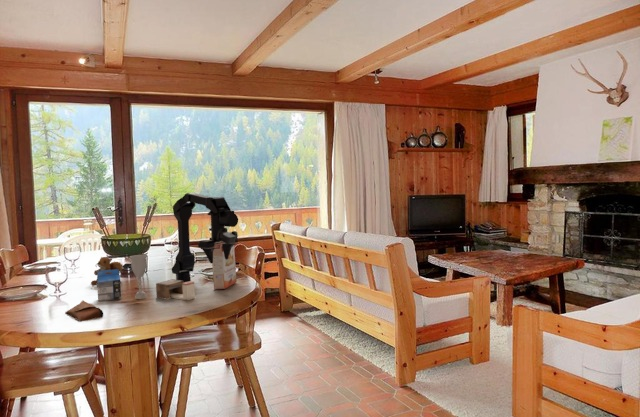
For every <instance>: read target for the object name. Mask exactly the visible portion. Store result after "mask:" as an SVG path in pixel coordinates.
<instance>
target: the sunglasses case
mask: <svg viewBox="0 0 640 417" xmlns="http://www.w3.org/2000/svg"><path fill="white" fill-rule="evenodd" d="M64 314H67V315H69V316H71V317H73V318H74V319H75V320H77V321H78V322H84V321H85V322H86V321H89V320H90V321H91V320H94V319H98V318H103V317H104V311H103V310H102V309H101V308H99V307H97V306H96V305H93V304H91V303H89V302H87V301H85V300H81V301H80V303H79V304H76V305H75V306H73V307H72V308H70V309H68V310H67V311H65V312H64Z"/></svg>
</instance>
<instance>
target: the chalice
mask: <svg viewBox="0 0 640 417" xmlns="http://www.w3.org/2000/svg"><path fill="white" fill-rule="evenodd" d="M129 258H130V268H131V270H132V273H133V275H134V276H135V277H136V278H137V279H138V281H137V283H138V286H137V287H138V291H137V292H136V294H135V296H134V300H142V299H146V298H148V296H147V293H146V292H145V291H143V290H142V289H143V288H142V287H143V285H142V283H143V282H142V278H143V277H144V275H145V273H146V270H147V267H148V266H147V258H148V254H136V255H135V254H134V255H130V256H129Z"/></svg>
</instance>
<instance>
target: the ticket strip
mask: <svg viewBox="0 0 640 417" xmlns="http://www.w3.org/2000/svg"><path fill="white" fill-rule="evenodd" d="M182 285H183V294H178V293H172V292H171V293H169V295H170V298H172V299H175V300H176V299H177V300H183V301H190V300H193V299H196V295H195V293H196V291H195V281H192V280H191V281H189V282H185V283H182Z"/></svg>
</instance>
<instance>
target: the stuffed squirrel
mask: <svg viewBox="0 0 640 417" xmlns="http://www.w3.org/2000/svg"><path fill="white" fill-rule="evenodd" d="M112 261H113V258H109V257H107V256H106V257H105V256H101V257H100V259H99V260H98V262H97V263H96V264H95V267H96V268H98V267H99V268H98V269H95V270H94V272H93V275H94V276H97V271H104V270H114V269H119V274H121V271H122V270H123V268H124V267H123V266H124V264H122V262H120V261H113V262H112ZM105 274H112V273H109V272H107V273H105ZM90 285H93V286H94V285H97V279H95V280H92V281H91V282H90Z"/></svg>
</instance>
